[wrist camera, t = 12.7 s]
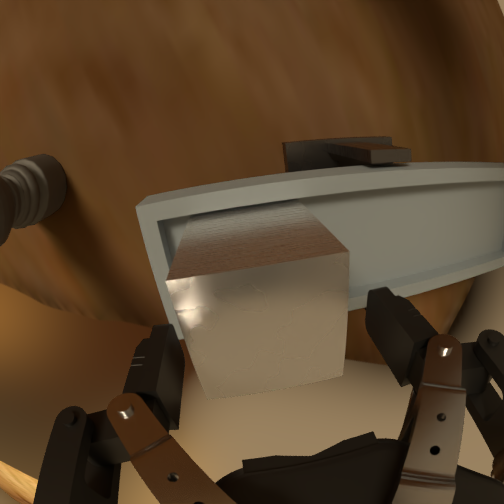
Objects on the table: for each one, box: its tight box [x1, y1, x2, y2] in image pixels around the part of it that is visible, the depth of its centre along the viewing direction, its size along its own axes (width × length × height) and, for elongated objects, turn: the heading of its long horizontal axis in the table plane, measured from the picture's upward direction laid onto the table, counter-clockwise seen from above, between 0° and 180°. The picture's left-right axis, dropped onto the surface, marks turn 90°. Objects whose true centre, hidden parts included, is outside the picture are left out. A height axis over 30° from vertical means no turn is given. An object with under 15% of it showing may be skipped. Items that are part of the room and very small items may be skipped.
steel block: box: [166, 198, 350, 399], centre depth 14 cm, size 6×6×8 cm
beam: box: [136, 162, 504, 339], centre depth 18 cm, size 9×30×3 cm, turn 98°
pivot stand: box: [282, 136, 411, 310], centre depth 22 cm, size 12×10×9 cm
